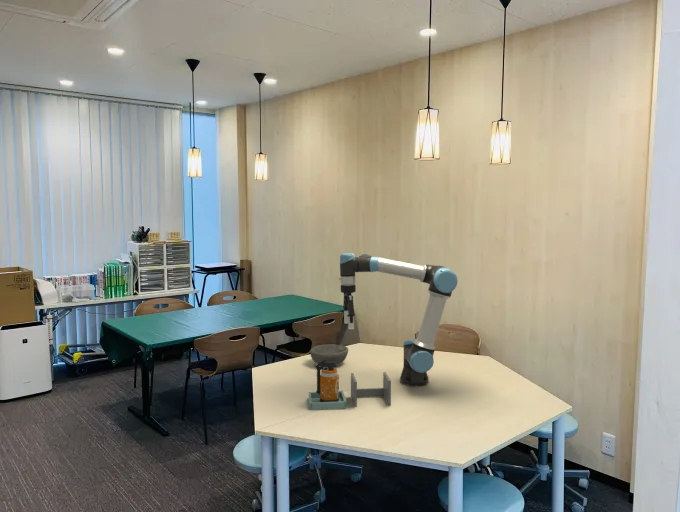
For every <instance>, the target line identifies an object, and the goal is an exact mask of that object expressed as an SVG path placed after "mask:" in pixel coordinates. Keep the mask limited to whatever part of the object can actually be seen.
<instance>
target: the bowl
mask: <svg viewBox="0 0 680 512" xmlns="http://www.w3.org/2000/svg"><path fill="white" fill-rule="evenodd" d="M309 353H310V357H311V359H312V360H313V362H315V363H316V365H317V364H319V363H320V362H322V361H324V360H325V361H330V362H333V361H335V363H338V364H337V366H338V365H341V364H342V363H343V362H344V361H345V360H346V358H347V356H348V353H349V348H348V347H347V345H346V346H345V345H342V344H335V343H334V344H332V343H329V344H320V345H319V344H318V345H315V346H313V347H312V348H311V349H310V351H309Z"/></svg>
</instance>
